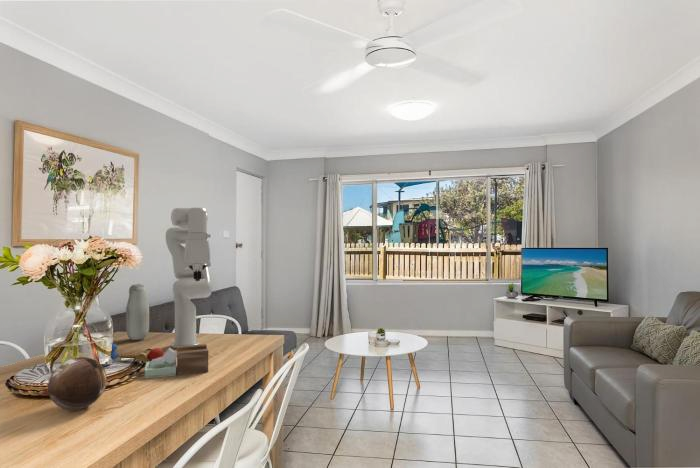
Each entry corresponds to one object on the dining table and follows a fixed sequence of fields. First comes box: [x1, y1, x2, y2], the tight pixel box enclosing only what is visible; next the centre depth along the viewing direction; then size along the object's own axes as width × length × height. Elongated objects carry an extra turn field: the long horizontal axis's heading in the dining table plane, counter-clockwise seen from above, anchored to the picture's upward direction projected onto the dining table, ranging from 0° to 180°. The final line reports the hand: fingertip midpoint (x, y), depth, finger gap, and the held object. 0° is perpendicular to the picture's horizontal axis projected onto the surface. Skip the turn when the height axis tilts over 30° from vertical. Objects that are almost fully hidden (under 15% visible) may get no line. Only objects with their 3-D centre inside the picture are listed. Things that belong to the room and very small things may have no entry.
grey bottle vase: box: [125, 283, 150, 341], centre depth 223 cm, size 10×10×28 cm
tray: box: [144, 358, 177, 380], centre depth 168 cm, size 12×11×3 cm
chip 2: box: [162, 347, 177, 364], centre depth 169 cm, size 4×4×4 cm
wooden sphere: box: [47, 356, 108, 411], centre depth 133 cm, size 15×15×15 cm
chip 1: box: [152, 357, 165, 369], centre depth 168 cm, size 4×4×4 cm
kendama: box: [120, 347, 165, 364], centre depth 182 cm, size 8×6×18 cm
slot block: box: [176, 343, 209, 376], centre depth 173 cm, size 12×11×8 cm
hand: (197, 280), depth 186 cm, fingers closed
